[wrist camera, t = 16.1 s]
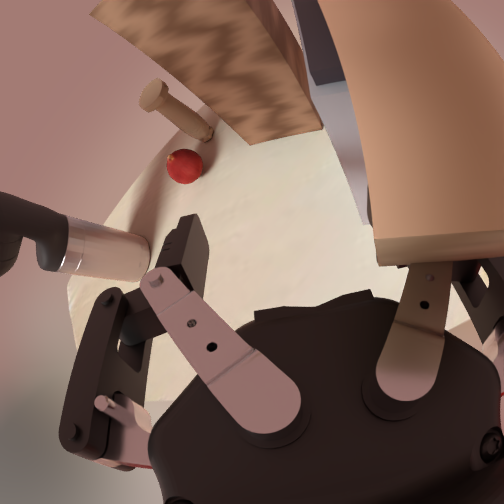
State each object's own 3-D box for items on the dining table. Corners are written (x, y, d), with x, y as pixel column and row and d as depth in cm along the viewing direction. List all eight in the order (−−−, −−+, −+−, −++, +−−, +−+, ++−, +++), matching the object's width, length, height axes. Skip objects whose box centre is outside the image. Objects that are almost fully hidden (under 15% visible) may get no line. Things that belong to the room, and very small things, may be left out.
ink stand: (362, 224, 31) (302, 81, 10) (349, 130, 34) (282, -21, 12) (423, 219, 28) (471, 66, 6) (402, 124, 30) (377, -37, 8)
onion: (181, 180, 47) (149, 163, 40) (199, 154, 46) (170, 134, 39) (197, 195, 44) (164, 179, 38) (218, 168, 43) (187, 147, 36)
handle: (213, 117, 46) (160, 73, 33) (221, 140, 44) (163, 93, 31) (194, 131, 48) (139, 92, 35) (200, 154, 46) (139, 114, 33)
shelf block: (249, 145, 41) (89, 14, 13) (251, 89, 43) (131, -28, 16) (322, 129, 36) (189, -62, 8) (313, 72, 38) (211, -77, 10)
